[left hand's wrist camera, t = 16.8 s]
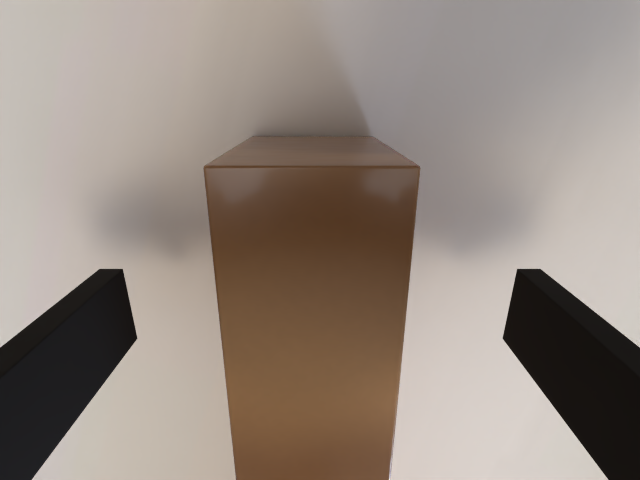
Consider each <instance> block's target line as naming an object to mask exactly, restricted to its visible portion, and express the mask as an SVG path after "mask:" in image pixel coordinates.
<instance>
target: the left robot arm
mask: <svg viewBox="0 0 640 480" xmlns="http://www.w3.org/2000/svg"><path fill="white" fill-rule="evenodd" d="M136 339H137V335H136V330H135V325H134V321H133V316H132V311H131V306H130V301H129V297H128V292H127V287H126V282H125V278H124V273H123V269H99V270H98V271H97V272H95V273H94V274H93V275H92V276H90V277H89V278H88V279H86V280H85V281H84V282H83V283H81V284H80V285H79V286H78V287H76V288H75V289H74V290H73V291H71V292H70V293H69V294H68V295H66V296H65V297H64V298H62V299H61V300H60V301H59V302H57V303H56V304H55V305H54V306H52V307H51V308H50V309H49V310H47V311H46V312H45V313H44V314H42V315H41V316H40V317H38V318H37V319H36V320H35V321H33V322H32V323H31V324H30V325H28V326H27V327H26V328H25V329H23V330H22V331H21V332H20V333H18V334H17V335H16V336H14V337H13V338H12V339H11V340H9V341H8V342H7V343H6V344H4V345H3V346H2V347H1V348H0V480H32V478H33V477H34V476H35V474H36V473H37V472H38V470H39V469H40V468H41V466H42V465H43V464H44V462H45V461H46V460H47V458H48V457H49V456H50V454H51V453H52V452H53V450H54V449H55V448H56V446H57V445H58V444H59V442H60V441H61V440H62V438H63V437H64V436H65V434H66V433H67V432H68V430H69V429H70V428H71V426H72V425H73V424H74V422H75V421H76V420H77V418H78V417H79V416H80V414H81V413H82V412H83V410H84V409H85V408H86V406H87V405H88V404H89V402H90V401H91V400H92V398H93V397H94V396H95V394H96V393H97V392H98V390H99V389H100V388H101V386H102V385H103V384H104V382H105V381H106V380H107V378H108V377H109V376H110V374H111V373H112V372H113V370H114V369H115V368H116V366H117V365H118V364H119V362H120V361H121V360H122V358H123V357H124V356H125V354H126V353H127V352H128V350H129V349H130V348H131V346H132V345H133V343H134V342H135V341H136ZM503 339H504V341H505V342H506V343H507V345H508V346H509V348H510V349H511V350H512V352H513V353H514V354H515V356H516V357H517V358H518V360H519V361H520V362H521V364H522V365H523V366H524V368H525V369H526V370H527V372H528V373H529V374H530V376H531V377H532V378H533V380H534V381H535V382H536V384H537V385H538V386H539V388H540V389H541V390H542V392H543V393H544V394H545V396H546V397H547V398H548V400H549V401H550V402H551V404H552V405H553V406H554V408H555V409H556V410H557V412H558V413H559V414H560V416H561V417H562V418H563V420H564V421H565V422H566V424H567V425H568V426H569V428H570V429H571V430H572V432H573V433H574V434H575V436H576V437H577V438H578V440H579V441H580V442H581V444H582V445H583V446H584V448H585V449H586V450H587V452H588V453H589V454H590V456H591V457H592V458H593V460H594V461H595V462H596V464H597V465H598V466H599V468H600V469H601V470H602V472H603V473H604V474H605V476H606V477H607V478H608V480H640V348H639V347H638V346H637V345H636V344H634V343H633V342H632V341H631V340H629V339H628V338H627V337H626V336H624V335H623V334H622V333H620V332H619V331H618V330H617V329H615V328H614V327H613V326H612V325H610V324H609V323H608V322H607V321H605V320H604V319H603V318H602V317H600V316H599V315H598V314H596V313H595V312H594V311H593V310H591V309H590V308H589V307H588V306H586V305H585V304H584V303H583V302H581V301H580V300H579V299H578V298H576V297H575V296H574V295H572V294H571V293H570V292H569V291H567V290H566V289H565V288H564V287H562V286H561V285H560V284H559V283H557V282H556V281H555V280H554V279H552V278H551V277H550V276H548V275H547V274H546V273H545V272H543V271H542V270H541V269H517V273H516V278H515V282H514V287H513V292H512V297H511V301H510V306H509V311H508V316H507V321H506V325H505V330H504V335H503Z"/></svg>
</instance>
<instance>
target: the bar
mask: <svg viewBox="0 0 640 480" xmlns="http://www.w3.org/2000/svg"><path fill="white" fill-rule="evenodd" d="M419 176H420V166H418V165H417V164H415V163H414V162H412V161H410V160H409V159H407V158H406V157H404V156H403V155H401V154H399V153H398V152H396V151H395V150H393V149H392V148H390V147H388V146H387V145H385V144H384V143H382V142H380V141H379V140H377V139H376V138H374V137H325V136H253V137H251V138H249V139H248V140H246V141H244V142H243V143H241V144H239V145H238V146H236V147H234V148H233V149H231V150H230V151H228V152H226V153H225V154H223V155H221V156H220V157H218V158H217V159H215V160H213V161H212V162H210V163H208V164H207V165H205V166H204V177H205V187H206V196H207V206H208V215H209V225H210V235H211V244H212V254H213V263H214V273H215V282H216V292H217V301H218V311H219V321H220V330H221V340H222V349H223V359H224V368H225V378H226V387H227V397H228V407H229V416H230V426H231V435H232V445H233V454H234V464H235V473H236V480H390V476H391V465H392V455H393V445H394V434H395V424H396V414H397V403H398V393H399V383H400V372H401V362H402V352H403V341H404V331H405V321H406V310H407V300H408V290H409V279H410V269H411V259H412V248H413V238H414V228H415V217H416V207H417V197H418V186H419Z"/></svg>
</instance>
